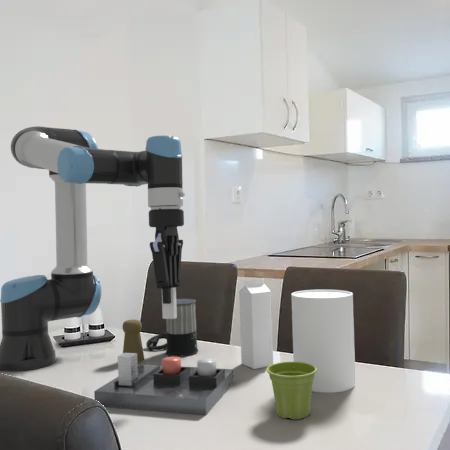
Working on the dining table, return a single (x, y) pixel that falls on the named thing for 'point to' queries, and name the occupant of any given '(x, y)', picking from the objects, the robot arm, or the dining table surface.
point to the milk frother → (179, 331)
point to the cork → (133, 339)
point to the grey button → (207, 367)
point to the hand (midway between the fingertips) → (169, 317)
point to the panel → (167, 390)
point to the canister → (325, 337)
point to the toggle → (127, 368)
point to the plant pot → (292, 388)
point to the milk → (256, 324)
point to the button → (171, 365)
